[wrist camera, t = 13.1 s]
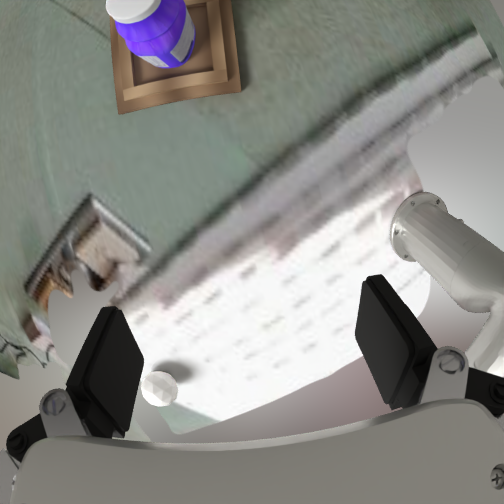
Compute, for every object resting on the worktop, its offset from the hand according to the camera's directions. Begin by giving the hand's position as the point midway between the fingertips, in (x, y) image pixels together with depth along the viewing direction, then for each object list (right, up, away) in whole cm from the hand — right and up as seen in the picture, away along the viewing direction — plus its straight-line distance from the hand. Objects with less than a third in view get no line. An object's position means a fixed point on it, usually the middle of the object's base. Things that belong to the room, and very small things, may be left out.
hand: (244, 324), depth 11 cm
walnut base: (-10, +29, +18) cm, 36 cm away
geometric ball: (-19, -24, +45) cm, 55 cm away
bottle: (-9, +28, +17) cm, 35 cm away
